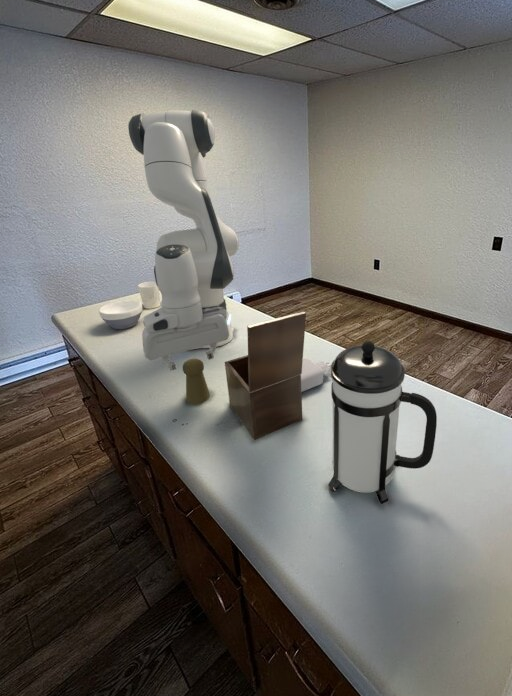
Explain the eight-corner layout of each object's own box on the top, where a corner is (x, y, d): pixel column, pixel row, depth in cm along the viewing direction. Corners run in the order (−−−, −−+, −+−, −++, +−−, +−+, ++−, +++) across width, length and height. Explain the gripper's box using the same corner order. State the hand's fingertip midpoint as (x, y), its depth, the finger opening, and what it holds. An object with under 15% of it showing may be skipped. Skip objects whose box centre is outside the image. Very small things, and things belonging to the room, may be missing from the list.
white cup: (138, 308, 155) (133, 286, 151) (149, 302, 162) (145, 281, 159) (155, 309, 154) (150, 287, 150) (165, 303, 161) (161, 281, 157)
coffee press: (348, 526, 62) (352, 377, 51) (314, 460, 75) (311, 331, 64) (430, 491, 68) (449, 352, 57) (384, 437, 82) (393, 316, 71)
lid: (247, 325, 68) (248, 327, 68) (304, 311, 75) (306, 313, 74) (248, 390, 76) (250, 392, 76) (299, 371, 83) (301, 374, 82)
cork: (203, 387, 100) (197, 353, 96) (214, 397, 96) (209, 361, 92) (182, 397, 96) (175, 361, 92) (192, 407, 92) (186, 370, 88)
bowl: (133, 314, 149) (129, 297, 146) (152, 322, 141) (149, 304, 139) (96, 326, 138) (91, 308, 136) (115, 336, 130) (110, 317, 128)
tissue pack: (340, 378, 104) (295, 396, 96) (321, 364, 111) (278, 380, 103) (340, 363, 103) (295, 381, 94) (321, 351, 110) (278, 366, 101)
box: (229, 404, 93) (224, 361, 88) (273, 388, 100) (270, 347, 95) (254, 440, 81) (249, 393, 76) (302, 419, 88) (300, 374, 83)
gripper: (221, 301, 95) (227, 347, 100) (135, 319, 84) (147, 370, 89) (229, 307, 90) (235, 356, 95) (140, 328, 79) (152, 381, 84)
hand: (192, 363), depth 92 cm, fingers open, 8 cm apart
